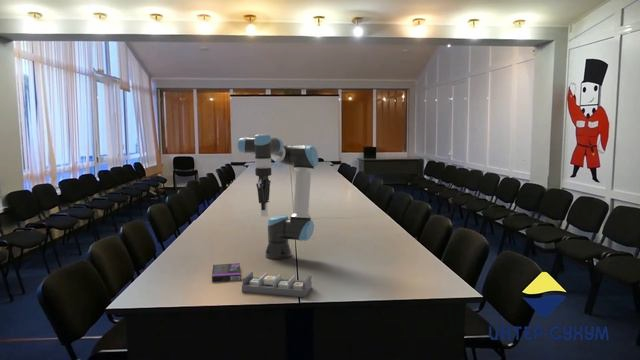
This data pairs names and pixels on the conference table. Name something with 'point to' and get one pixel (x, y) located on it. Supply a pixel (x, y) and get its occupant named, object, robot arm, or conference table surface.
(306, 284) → the keypad
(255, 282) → the key
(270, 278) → the key
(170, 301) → the conference table surface
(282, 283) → the key
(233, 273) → the box
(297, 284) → the key
